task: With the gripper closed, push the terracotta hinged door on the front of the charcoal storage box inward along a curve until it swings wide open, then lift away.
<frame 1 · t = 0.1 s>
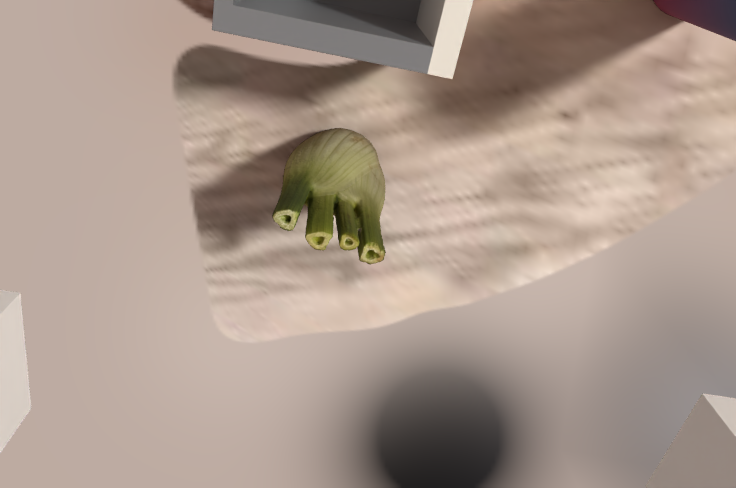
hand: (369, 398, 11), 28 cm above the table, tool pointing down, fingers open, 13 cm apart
fennel bulb: (340, 155, 38), on the table
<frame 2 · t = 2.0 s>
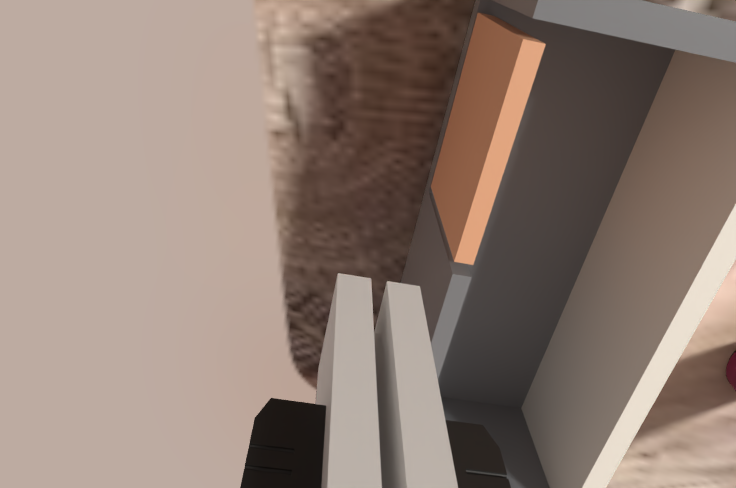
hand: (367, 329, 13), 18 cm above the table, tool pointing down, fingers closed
box door: (475, 130, 25), point 5 cm above the table, hinge at 0.0°
storage box: (510, 233, 33), on the table
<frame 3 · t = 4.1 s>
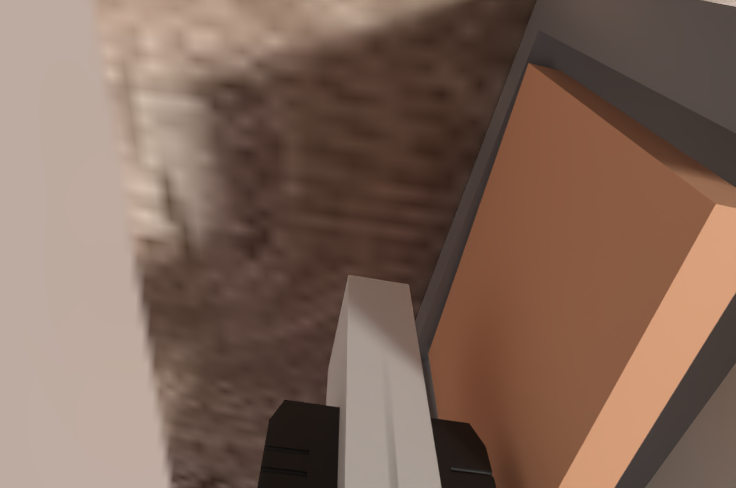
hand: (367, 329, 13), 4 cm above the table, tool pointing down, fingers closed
box door: (523, 317, 12), point 5 cm above the table, hinge at 2.6°, touching gripper
storage box: (542, 414, 20), on the table
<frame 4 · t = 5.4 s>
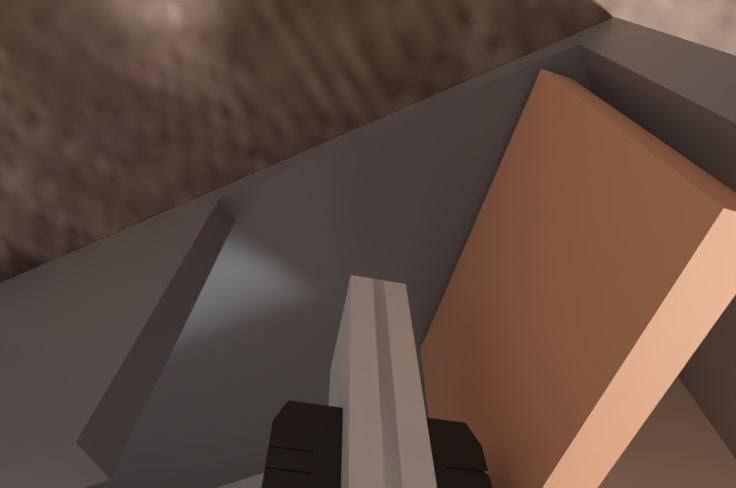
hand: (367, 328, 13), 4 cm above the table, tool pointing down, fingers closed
box door: (520, 315, 12), point 5 cm above the table, hinge at 49.5°, touching gripper
storage box: (259, 348, 19), on the table
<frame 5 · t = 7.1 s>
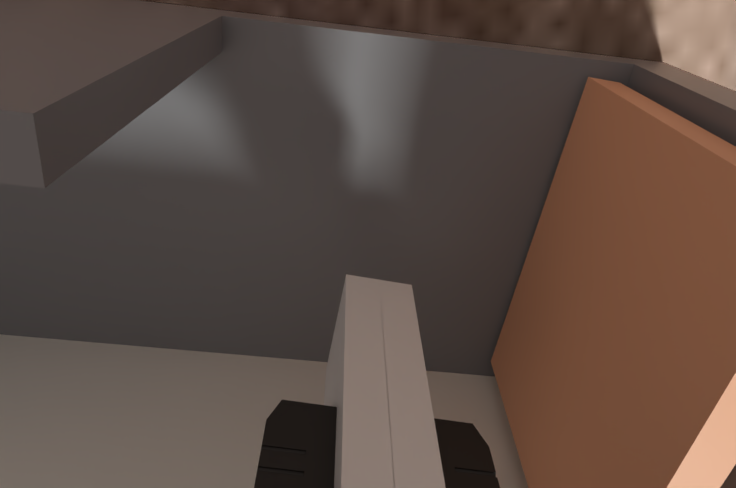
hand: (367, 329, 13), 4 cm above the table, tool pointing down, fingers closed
box door: (600, 325, 12), point 5 cm above the table, hinge at 86.7°
storage box: (160, 206, 17), on the table
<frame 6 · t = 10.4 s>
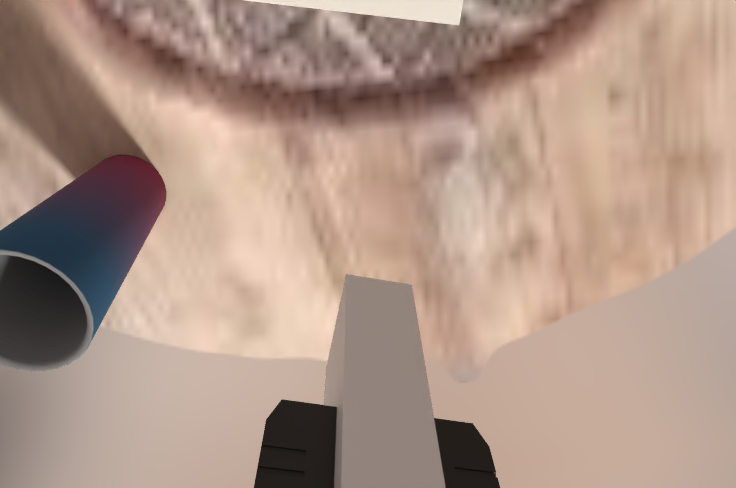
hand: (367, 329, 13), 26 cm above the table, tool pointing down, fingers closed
cup: (130, 188, 40), on the table
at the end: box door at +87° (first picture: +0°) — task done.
